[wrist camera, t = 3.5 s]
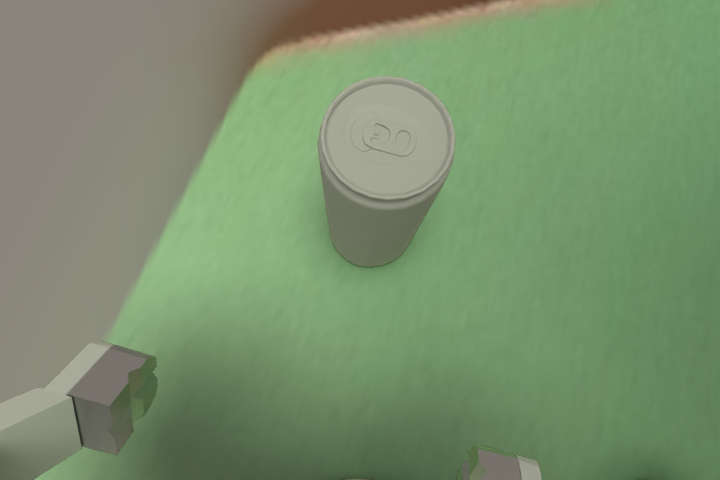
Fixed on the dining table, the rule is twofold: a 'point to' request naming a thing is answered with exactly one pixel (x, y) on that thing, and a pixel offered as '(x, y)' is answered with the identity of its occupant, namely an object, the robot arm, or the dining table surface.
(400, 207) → the beverage can
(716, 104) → the dining table surface
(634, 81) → the dining table surface
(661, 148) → the dining table surface
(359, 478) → the white domed disc
